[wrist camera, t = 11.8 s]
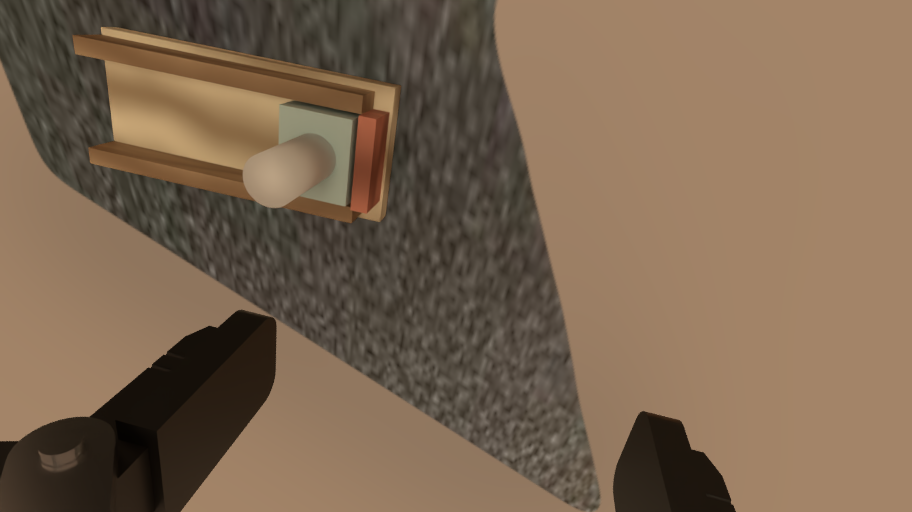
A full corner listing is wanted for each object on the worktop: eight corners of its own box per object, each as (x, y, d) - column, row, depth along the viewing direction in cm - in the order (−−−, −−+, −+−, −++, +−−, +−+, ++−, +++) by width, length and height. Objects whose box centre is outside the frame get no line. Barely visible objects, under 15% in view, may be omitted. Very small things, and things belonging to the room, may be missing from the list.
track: (116, 27, 38) (65, 27, 34) (401, 85, 36) (382, 92, 32) (130, 157, 42) (86, 171, 38) (385, 215, 41) (367, 236, 37)
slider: (299, 98, 36) (226, 119, 28) (367, 113, 36) (313, 138, 28) (296, 179, 39) (228, 219, 31) (360, 194, 38) (308, 238, 30)
